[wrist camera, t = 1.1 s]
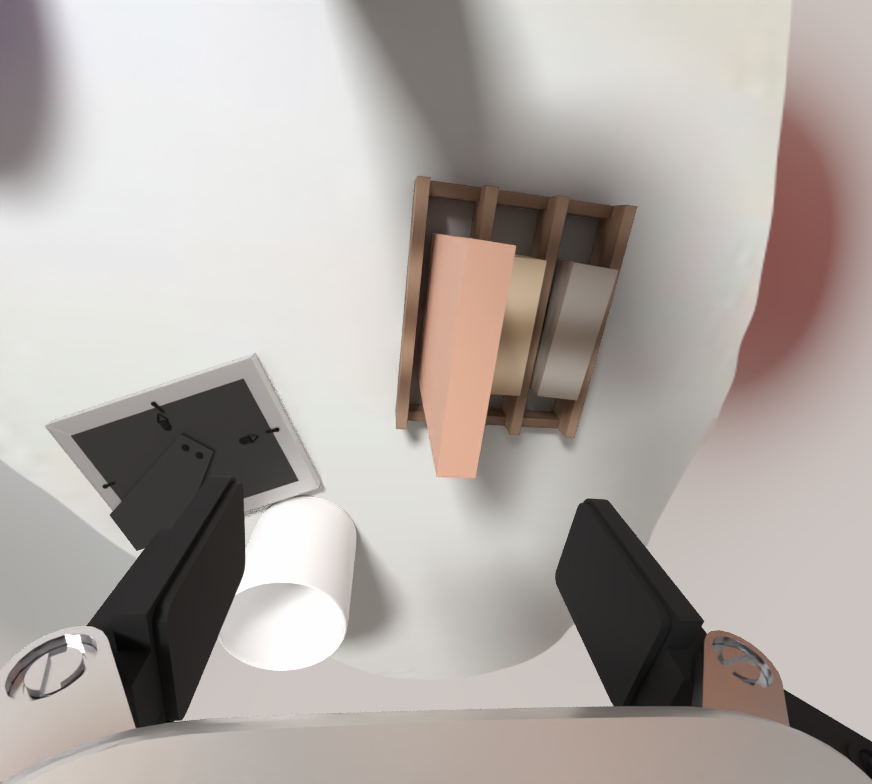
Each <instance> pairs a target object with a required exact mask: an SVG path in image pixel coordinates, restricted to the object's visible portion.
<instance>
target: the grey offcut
mask: <svg viewBox="0 0 872 784" xmlns="http://www.w3.org/2000/svg"><path fill="white" fill-rule="evenodd" d="M617 273H618V270H614V269H609V268H604V267H599V266H594V265H589V264H584V263H578V262H572V261H566V260H561V259H557V260H556V265H555V269H554V274H553V279H552V283H551V288H550V293H549V298H548V302H547V307H546V312H545V316H544V321H543V326H542V330H541V335H540V340H539V345H538V349H537V354H536V359H535V363H534V368H533V373H532V377H531V382H530V388H531V389H532V390H533V391H534V393H535V394H536V395H537V396H543V397H551V398H560V399H569V400H577V399H578V396H579V393H580V390H581V387H582V384H583V380H584V377H585V374H586V371H587V368H588V365H589V362H590V358H591V355H592V352H593V349H594V346H595V343H596V339H597V336H598V333H599V330H600V327H601V324H602V320H603V317H604V314H605V311H606V308H607V305H608V301H609V298H610V295H611V292H612V289H613V286H614V282H615V279H616V276H617Z"/></svg>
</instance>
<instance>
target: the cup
mask: <svg viewBox="0 0 872 784" xmlns="http://www.w3.org/2000/svg"><path fill="white" fill-rule="evenodd" d="M356 540H357V539H356V529H355V525H354V523H353V521H352V519H351V518H350V516H349V515H348V514H347V513H346V512H345V511H344V510H343V509H342V508H340V507H339V506H337V505H336V504H334V503H332V502H329V501H327V500H325V499H320V498H316V497H305V496H302V497H293V498H289V499H285V500H282V501H280V502H278V503H276V504H274V505H272V506H271V507H270V508H268V509H267V510H266V511H265V512H264V513H263V515H262V516H261V517H260V518H259V520H258V522H257V524H256V527H255V529H254V531H253V533H252V536H251V538H250V540H249V542H248V545H247V547H246V549H245V560H246V562H245V570H244V574H243V577H242V580H241V582H240V585H239V587H238V590H237V592H236V594H235V597H234V599H233V602H232V604H231V606H230V609H229V611H228V614H227V616H226V618H225V621H224V623H223V626H222V628H221V631H220V633H219V635H218V638H219V640H220V642H221V644H222V645H223V647H224V648H225V649H226V650H227V651H228V652H229V653H230V654H231V655H232V656H234V657H236V658H237V659H238V660H240V661H242V662H244V663H246V664H249V665H251V666H255V667H258V668H262V669H268V670H294V669H300V668H304V667H308V666H311V665H313V664H316V663H318V662H320V661H322V660H324V659H325V658H327V657H328V656H330V655H331V654H332V653H333V652H334V651H335V650H336V649H337V648H338V647H339V646H340V645H341V643H342V642H343V640H344V638H345V636H346V633H347V629H348V620H349V611H350V601H351V591H352V581H353V571H354V562H355V552H356Z"/></svg>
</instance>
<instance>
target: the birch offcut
mask: <svg viewBox="0 0 872 784" xmlns="http://www.w3.org/2000/svg"><path fill="white" fill-rule="evenodd" d="M546 262H547V261H546V260H541V259H537V258H533V257H528V256H523V255H515V256H514V262H513V267H512V273H511V279H510V285H509V290H508V296H507V302H506V307H505V313H504V319H503V325H502V330H501V336H500V342H499V347H498V353H497V359H496V364H495V370H494V376H493V382H492V387H491V393H490V394H496V395H513V396H520V393H521V388H522V383H523V378H524V373H525V368H526V363H527V358H528V353H529V348H530V343H531V338H532V333H533V328H534V323H535V318H536V313H537V308H538V302H539V297H540V292H541V287H542V282H543V277H544V272H545V267H546Z"/></svg>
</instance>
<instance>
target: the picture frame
mask: <svg viewBox="0 0 872 784" xmlns="http://www.w3.org/2000/svg"><path fill="white" fill-rule="evenodd" d="M45 427H46V428H47V430H48V431H49V432H50V433H51V435H52V436H53V437H54V438H55V440H56V441H57V442H58V443H59V445H60V446H61V447H62V448H63V450H64V451H65V452H66V453H67V455H68V456H69V457H70V458H71V460H72V461H73V462H74V463H75V464H76V466H77V467H78V468H79V469H80V471H81V472H82V473H83V474H84V476H85V477H86V478H87V479H88V481H89V482H90V483H91V484H92V486H93V487H94V488H95V489H96V491H97V492H98V493H99V494H100V496H101V497H102V498H103V499H104V501H105V502H106V503H107V504H108V506H109V507H110V508H111V509H112V511H113V512H112V513H111V514H110V516H111V518H112V519H113V520H114V521H115V523H116V524H117V525H118V527H119V528H120V529H121V531H122V532H123V533H124V535H125V536H126V537H127V539H128V540H129V541H130V543H131V544H132V545H133V547H134V548H135V549H136V551H138V550H141V549H144V548H146V546H147V545H148V544H149V542H150V541H151V540H152V538H153V537H154V536H155V534H156V533H157V532H158V531H159V530H160V529H162V528H164V527H173V526H174V524H175V523H176V522H177V520H178V519H179V517H180V516H181V515H182V513H183V512H184V510H185V509H186V508H187V506H188V505H189V503H190V502H191V501H192V499H193V498H194V496H195V495H196V494H197V492H198V491H199V489H200V488H201V487H202V485H203V484H204V482H205V481H206V480H207V478H208V477H209V476H211V475H215V476H232V477H235V478H236V483H242V484H243V491H244V512H247V511H250V510H253V509H256V508H259V507H262V506H265V505H268V504H271V503H274V502H277V501H281V500H284V499H287V498H290V497H293V496H296V495H299V494H302V493H305V492H308V491H312V490H315V489H318V488H319V486H320V482H321V479H320V477H319V475H318V473H317V472H316V470H315V468H314V466H313V464H312V462H311V460H310V458H309V456H308V454H307V452H306V450H305V448H304V446H303V444H302V442H301V441H300V439H299V437H298V435H297V433H296V431H295V429H294V427H293V425H292V423H291V421H290V419H289V417H288V415H287V413H286V411H285V409H284V408H283V406H282V404H281V402H280V400H279V398H278V396H277V394H276V392H275V390H274V388H273V386H272V384H271V382H270V380H269V378H268V376H267V375H266V373H265V371H264V369H263V367H262V365H261V363H260V361H259V359H258V357H257V355H256V353H254V354H251V355H248V356H245V357H242V358H239V359H236V360H232V361H229V362H226V363H223V364H220V365H217V366H214V367H211V368H208V369H205V370H202V371H199V372H196V373H193V374H190V375H187V376H184V377H181V378H178V379H175V380H172V381H169V382H166V383H163V384H160V385H157V386H154V387H151V388H148V389H145V390H142V391H139V392H136V393H133V394H130V395H127V396H124V397H121V398H118V399H115V400H112V401H109V402H106V403H103V404H100V405H97V406H94V407H91V408H88V409H85V410H82V411H79V412H76V413H73V414H70V415H67V416H64V417H60V418H57V419H55V420H53V421H51V422H50V423H48V424H46V425H45Z"/></svg>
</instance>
